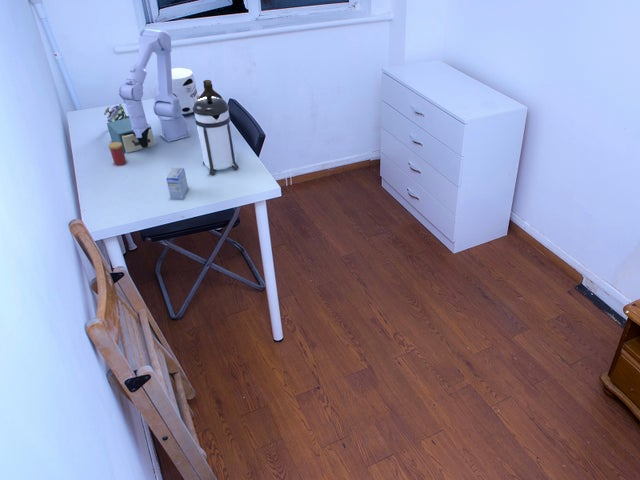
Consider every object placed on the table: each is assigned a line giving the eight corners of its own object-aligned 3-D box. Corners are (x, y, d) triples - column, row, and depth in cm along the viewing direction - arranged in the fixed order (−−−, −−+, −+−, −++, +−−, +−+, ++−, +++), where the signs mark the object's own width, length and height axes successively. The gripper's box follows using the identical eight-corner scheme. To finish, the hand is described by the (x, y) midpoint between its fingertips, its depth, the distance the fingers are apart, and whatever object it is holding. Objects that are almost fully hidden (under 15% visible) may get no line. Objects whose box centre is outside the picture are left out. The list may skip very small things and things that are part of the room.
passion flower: (115, 138, 246) (102, 113, 244) (139, 128, 250) (126, 104, 248) (114, 133, 236) (99, 107, 234) (139, 123, 240) (125, 97, 238)
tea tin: (116, 160, 218) (111, 141, 214) (128, 160, 219) (123, 141, 214) (112, 165, 215) (106, 147, 210) (124, 165, 215) (119, 147, 210)
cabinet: (155, 144, 231) (150, 125, 226) (123, 153, 224) (118, 134, 219) (142, 133, 239) (138, 115, 234) (112, 141, 231) (106, 123, 227)
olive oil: (204, 133, 241) (194, 77, 227) (229, 131, 243) (221, 76, 229) (203, 143, 233) (192, 86, 218) (229, 142, 235) (220, 85, 220)
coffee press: (249, 161, 222) (239, 88, 204) (226, 179, 209) (213, 103, 192) (212, 153, 226) (199, 82, 209) (188, 170, 214) (172, 96, 196)
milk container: (209, 111, 260) (202, 74, 250) (175, 121, 250) (166, 82, 239) (190, 101, 270) (183, 64, 259) (156, 110, 259) (147, 72, 249)
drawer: (159, 148, 226) (156, 133, 222) (130, 156, 220) (126, 141, 216) (144, 134, 236) (140, 120, 232) (115, 142, 229) (111, 127, 225)
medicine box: (176, 188, 203) (171, 167, 197) (188, 188, 203) (184, 167, 198) (170, 199, 196) (165, 178, 191) (183, 199, 197) (178, 178, 191)
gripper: (146, 121, 208) (154, 154, 216) (149, 106, 219) (156, 138, 227) (126, 123, 206) (135, 155, 214) (130, 108, 217) (138, 139, 225)
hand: (145, 146), depth 220 cm, fingers closed
